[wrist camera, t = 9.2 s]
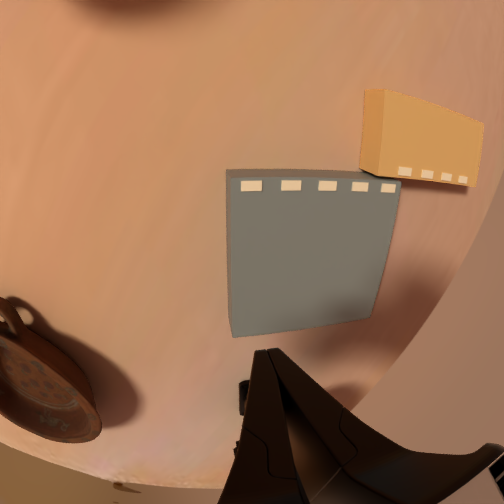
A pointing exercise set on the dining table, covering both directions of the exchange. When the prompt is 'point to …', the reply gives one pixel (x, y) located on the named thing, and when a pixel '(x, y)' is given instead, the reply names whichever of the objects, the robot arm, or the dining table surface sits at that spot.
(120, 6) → the dining table surface
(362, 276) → the grey flat block
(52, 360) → the dish
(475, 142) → the stub
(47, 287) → the dining table surface
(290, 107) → the dining table surface
